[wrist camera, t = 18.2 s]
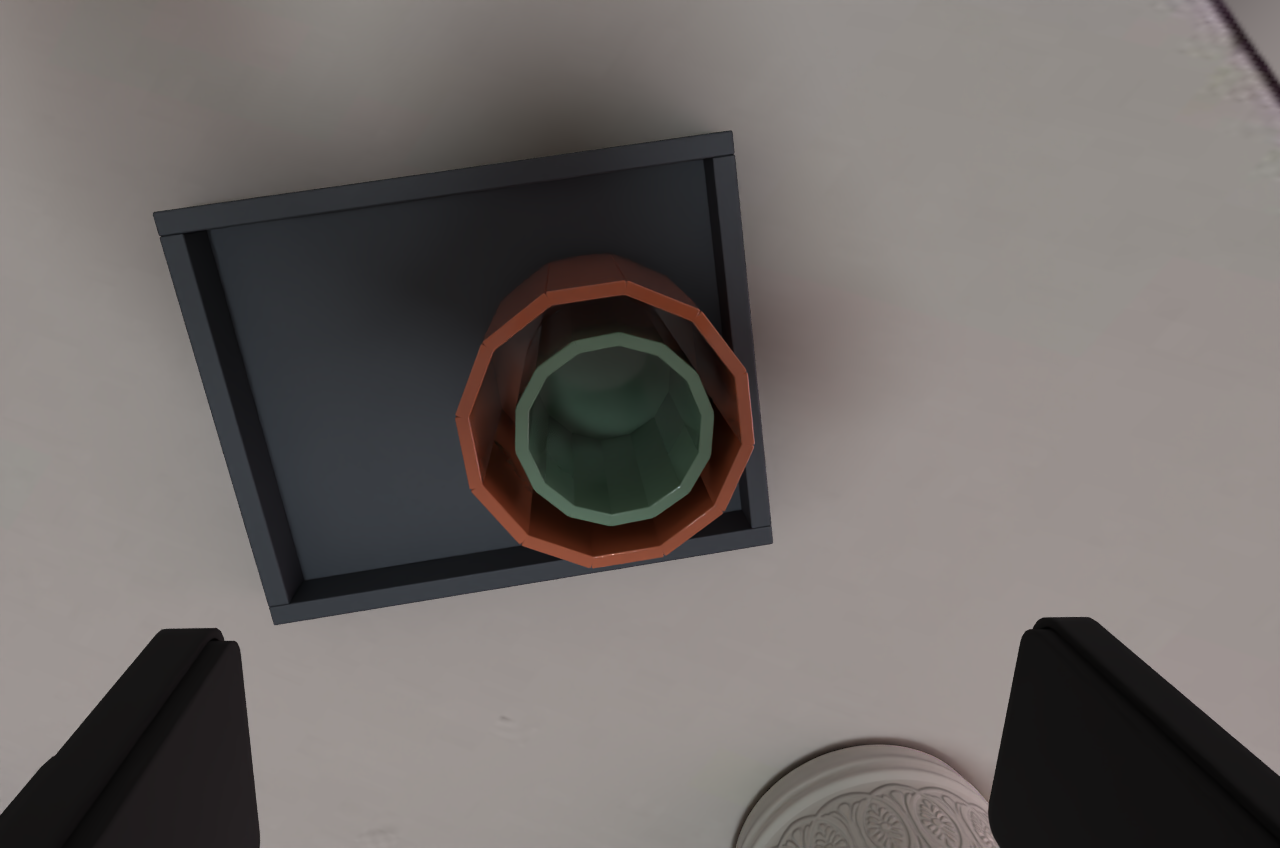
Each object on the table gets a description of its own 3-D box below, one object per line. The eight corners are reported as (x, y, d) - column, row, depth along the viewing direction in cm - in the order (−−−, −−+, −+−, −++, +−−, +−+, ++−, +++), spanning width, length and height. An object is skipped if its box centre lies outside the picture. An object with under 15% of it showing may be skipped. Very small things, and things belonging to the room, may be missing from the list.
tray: (184, 209, 31) (151, 212, 28) (719, 133, 32) (732, 130, 29) (294, 594, 35) (273, 626, 33) (759, 518, 36) (773, 544, 34)
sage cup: (509, 311, 32) (492, 356, 24) (666, 281, 32) (699, 316, 24) (541, 457, 33) (535, 542, 26) (690, 428, 34) (728, 503, 26)
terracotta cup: (467, 271, 32) (431, 308, 23) (690, 238, 32) (737, 263, 23) (507, 481, 34) (489, 585, 26) (714, 449, 34) (765, 541, 26)
